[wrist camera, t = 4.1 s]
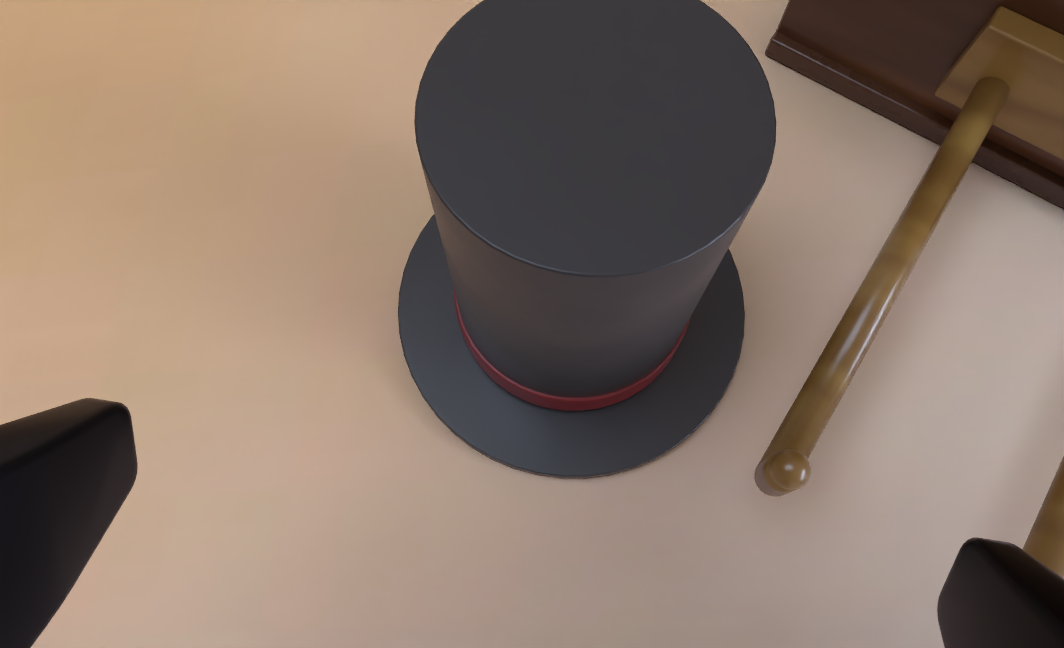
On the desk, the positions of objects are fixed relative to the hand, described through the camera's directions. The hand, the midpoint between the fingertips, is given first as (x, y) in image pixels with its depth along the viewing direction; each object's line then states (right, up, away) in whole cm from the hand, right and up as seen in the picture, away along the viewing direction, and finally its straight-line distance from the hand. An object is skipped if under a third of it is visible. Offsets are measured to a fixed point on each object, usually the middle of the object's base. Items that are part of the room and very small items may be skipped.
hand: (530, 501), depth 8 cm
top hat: (+1, +2, +15) cm, 15 cm away
